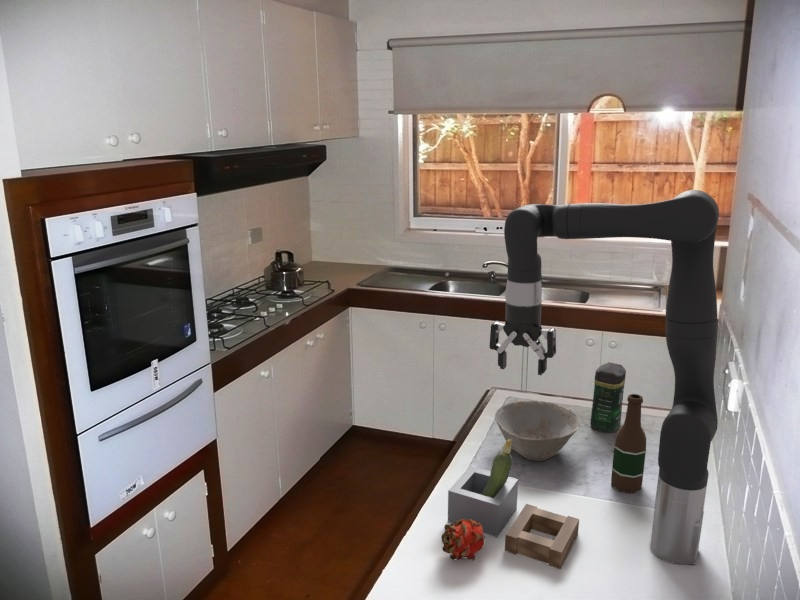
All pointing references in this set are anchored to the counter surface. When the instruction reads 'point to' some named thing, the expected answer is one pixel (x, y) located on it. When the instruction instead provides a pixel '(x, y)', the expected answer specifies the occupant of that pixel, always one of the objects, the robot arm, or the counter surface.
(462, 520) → the dragon fruit
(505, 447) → the vegetable
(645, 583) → the counter surface
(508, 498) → the holder
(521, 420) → the ceramic bowl
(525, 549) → the board
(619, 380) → the coffee jar
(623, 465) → the beer bottle
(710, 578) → the counter surface
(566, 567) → the counter surface
